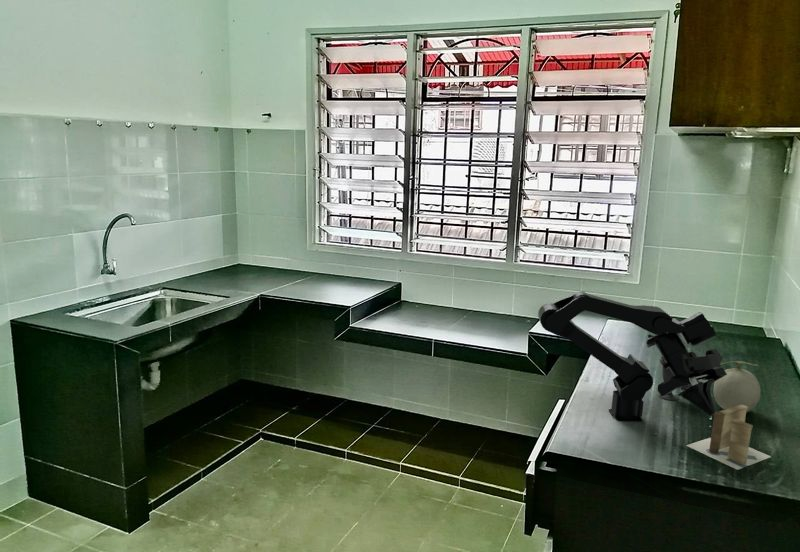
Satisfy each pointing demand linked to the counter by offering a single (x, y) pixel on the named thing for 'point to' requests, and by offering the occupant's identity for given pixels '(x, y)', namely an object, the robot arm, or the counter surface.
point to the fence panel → (730, 423)
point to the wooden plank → (732, 438)
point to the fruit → (737, 388)
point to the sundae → (666, 375)
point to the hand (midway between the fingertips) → (712, 414)
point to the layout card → (722, 454)
